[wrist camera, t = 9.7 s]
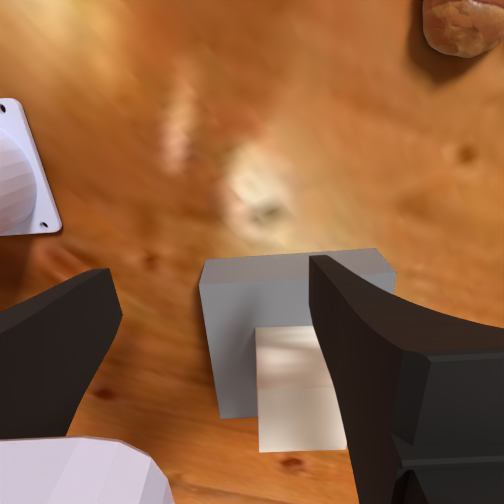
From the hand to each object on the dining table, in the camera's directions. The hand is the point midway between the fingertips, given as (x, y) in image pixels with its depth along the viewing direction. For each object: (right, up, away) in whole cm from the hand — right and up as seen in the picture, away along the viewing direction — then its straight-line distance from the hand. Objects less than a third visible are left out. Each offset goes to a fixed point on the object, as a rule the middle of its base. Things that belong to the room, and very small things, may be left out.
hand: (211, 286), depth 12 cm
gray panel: (+5, -4, +14) cm, 15 cm away
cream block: (+4, -6, +10) cm, 13 cm away
